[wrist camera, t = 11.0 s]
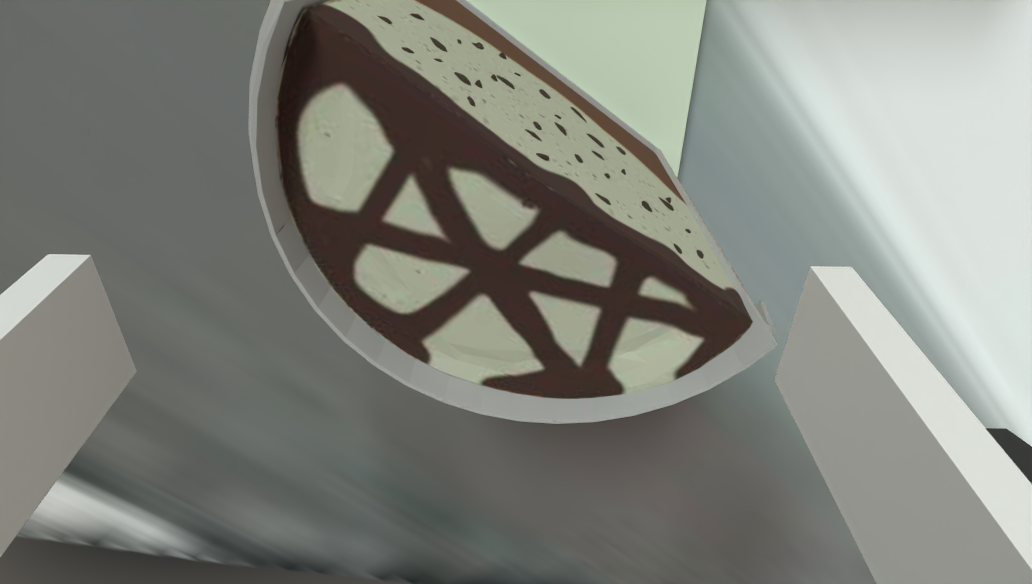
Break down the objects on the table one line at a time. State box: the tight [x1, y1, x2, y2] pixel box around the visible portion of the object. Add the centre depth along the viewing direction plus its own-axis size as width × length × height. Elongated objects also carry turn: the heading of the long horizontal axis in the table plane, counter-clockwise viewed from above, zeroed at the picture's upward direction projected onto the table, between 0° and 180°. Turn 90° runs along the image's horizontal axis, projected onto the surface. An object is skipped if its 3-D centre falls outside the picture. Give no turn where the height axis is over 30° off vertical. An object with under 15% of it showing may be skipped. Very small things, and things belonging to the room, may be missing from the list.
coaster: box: [466, 0, 706, 177], centre depth 22 cm, size 12×14×1 cm
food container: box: [248, 0, 777, 424], centre depth 17 cm, size 12×6×10 cm, turn 54°
